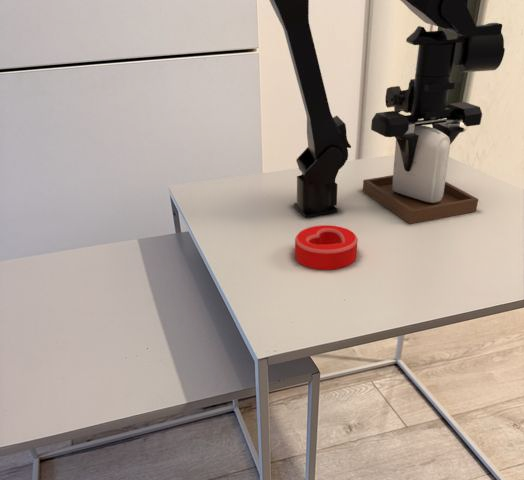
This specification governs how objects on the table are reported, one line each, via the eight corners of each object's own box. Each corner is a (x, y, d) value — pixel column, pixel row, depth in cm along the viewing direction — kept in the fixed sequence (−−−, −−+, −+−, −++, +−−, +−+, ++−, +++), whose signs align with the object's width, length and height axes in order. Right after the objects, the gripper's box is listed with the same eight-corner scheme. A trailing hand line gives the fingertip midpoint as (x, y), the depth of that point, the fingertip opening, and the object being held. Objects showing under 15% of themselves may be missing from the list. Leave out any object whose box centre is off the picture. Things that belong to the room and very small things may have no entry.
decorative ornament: (350, 273, 80) (352, 253, 78) (288, 266, 83) (288, 247, 81) (360, 245, 87) (362, 226, 85) (303, 239, 90) (303, 222, 88)
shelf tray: (409, 224, 93) (411, 211, 92) (362, 191, 107) (363, 179, 105) (476, 211, 96) (478, 199, 95) (422, 181, 110) (423, 169, 109)
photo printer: (387, 191, 103) (393, 124, 96) (403, 186, 105) (409, 119, 98) (431, 206, 97) (440, 134, 89) (446, 199, 99) (457, 129, 91)
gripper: (452, 62, 97) (439, 150, 106) (359, 72, 93) (353, 163, 102) (492, 71, 89) (474, 166, 98) (392, 83, 84) (382, 181, 93)
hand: (420, 168), depth 98 cm, fingers closed on photo printer, 5 cm apart
